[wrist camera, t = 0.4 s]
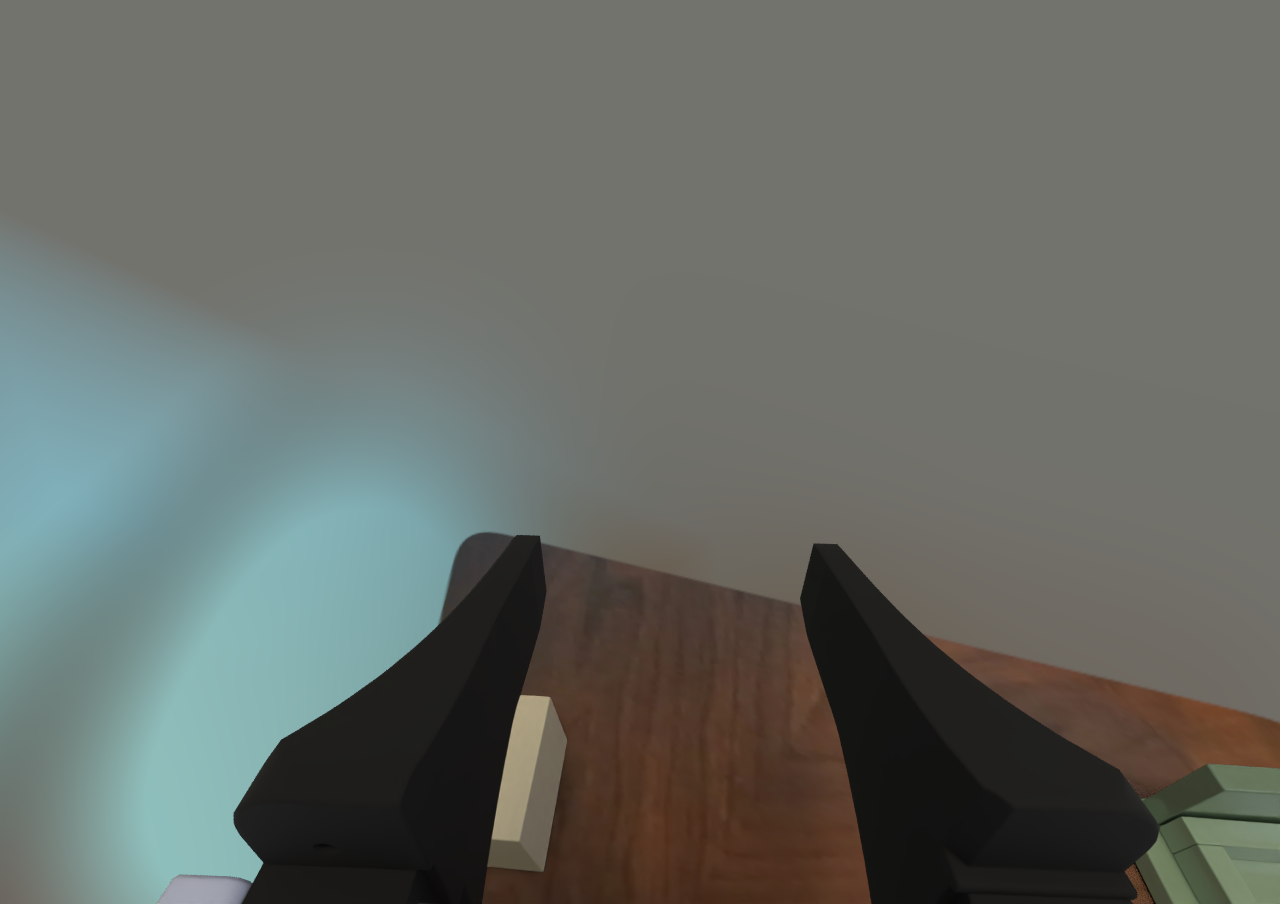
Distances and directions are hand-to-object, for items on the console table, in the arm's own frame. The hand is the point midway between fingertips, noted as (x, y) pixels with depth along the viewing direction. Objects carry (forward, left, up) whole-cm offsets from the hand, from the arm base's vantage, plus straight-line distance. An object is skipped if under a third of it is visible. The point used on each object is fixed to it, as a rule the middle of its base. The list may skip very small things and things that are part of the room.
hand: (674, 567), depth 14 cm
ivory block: (0, +9, -20) cm, 22 cm away
